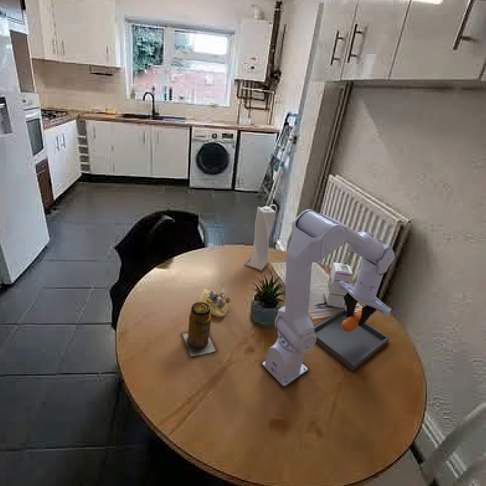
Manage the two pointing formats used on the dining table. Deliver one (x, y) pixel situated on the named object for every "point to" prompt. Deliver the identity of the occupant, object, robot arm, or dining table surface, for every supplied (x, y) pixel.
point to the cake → (216, 301)
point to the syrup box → (333, 292)
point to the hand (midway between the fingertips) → (355, 320)
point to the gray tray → (348, 340)
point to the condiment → (199, 330)
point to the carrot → (352, 322)
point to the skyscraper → (262, 237)
